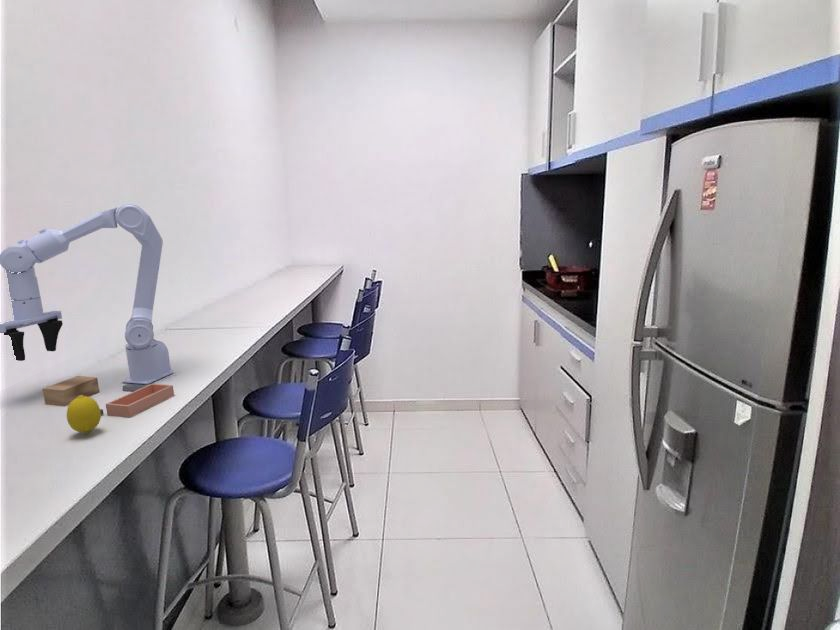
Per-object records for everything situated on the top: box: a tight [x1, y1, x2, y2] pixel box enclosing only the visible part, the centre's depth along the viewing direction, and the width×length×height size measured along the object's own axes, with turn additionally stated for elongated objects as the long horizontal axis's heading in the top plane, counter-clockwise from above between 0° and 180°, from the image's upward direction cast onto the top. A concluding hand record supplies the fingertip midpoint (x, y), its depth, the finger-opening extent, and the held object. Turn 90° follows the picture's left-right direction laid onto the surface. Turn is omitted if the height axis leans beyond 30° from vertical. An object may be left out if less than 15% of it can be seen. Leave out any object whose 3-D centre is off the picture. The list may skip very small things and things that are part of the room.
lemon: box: [66, 395, 101, 435], centre depth 102 cm, size 6×6×8 cm
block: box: [42, 375, 100, 407], centre depth 123 cm, size 9×6×4 cm, turn 164°
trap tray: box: [105, 383, 175, 418], centre depth 117 cm, size 13×6×2 cm, turn 164°
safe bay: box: [100, 383, 146, 416], centre depth 120 cm, size 16×8×1 cm, turn 164°
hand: (36, 355), depth 123 cm, fingers open, 7 cm apart
